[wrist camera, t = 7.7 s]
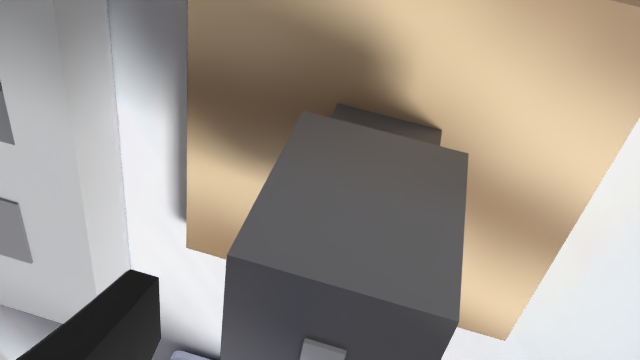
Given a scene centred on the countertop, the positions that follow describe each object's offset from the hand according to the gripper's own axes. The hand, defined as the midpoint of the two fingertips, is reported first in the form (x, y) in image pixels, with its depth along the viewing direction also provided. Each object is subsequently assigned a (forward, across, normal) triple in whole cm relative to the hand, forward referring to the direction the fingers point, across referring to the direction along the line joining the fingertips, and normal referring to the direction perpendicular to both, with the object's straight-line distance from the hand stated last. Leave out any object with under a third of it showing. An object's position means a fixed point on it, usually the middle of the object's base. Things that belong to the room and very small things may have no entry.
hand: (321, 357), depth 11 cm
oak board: (+8, 0, 0) cm, 8 cm away
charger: (+7, 0, 0) cm, 7 cm away
